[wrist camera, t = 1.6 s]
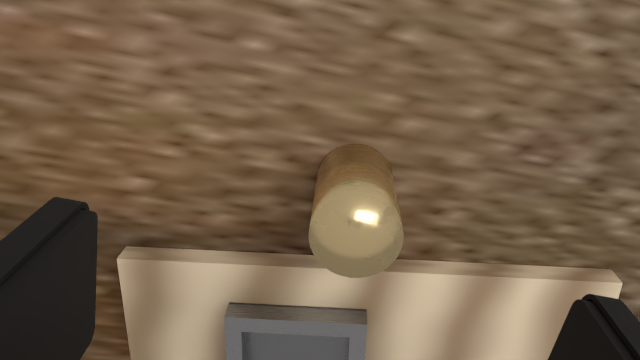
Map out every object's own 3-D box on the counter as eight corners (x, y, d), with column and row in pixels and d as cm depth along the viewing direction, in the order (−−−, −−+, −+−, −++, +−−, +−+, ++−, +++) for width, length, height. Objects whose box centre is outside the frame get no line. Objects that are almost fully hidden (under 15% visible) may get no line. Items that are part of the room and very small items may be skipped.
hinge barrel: (407, 169, 31) (422, 226, 25) (364, 226, 32) (368, 293, 26) (343, 129, 30) (342, 176, 24) (303, 189, 32) (290, 248, 25)
